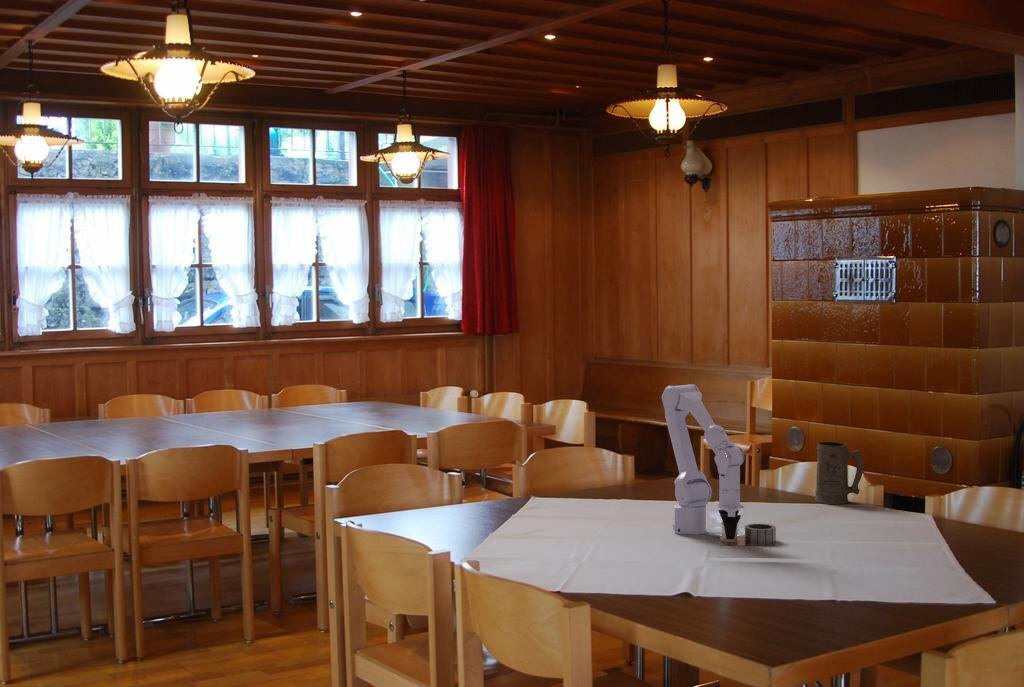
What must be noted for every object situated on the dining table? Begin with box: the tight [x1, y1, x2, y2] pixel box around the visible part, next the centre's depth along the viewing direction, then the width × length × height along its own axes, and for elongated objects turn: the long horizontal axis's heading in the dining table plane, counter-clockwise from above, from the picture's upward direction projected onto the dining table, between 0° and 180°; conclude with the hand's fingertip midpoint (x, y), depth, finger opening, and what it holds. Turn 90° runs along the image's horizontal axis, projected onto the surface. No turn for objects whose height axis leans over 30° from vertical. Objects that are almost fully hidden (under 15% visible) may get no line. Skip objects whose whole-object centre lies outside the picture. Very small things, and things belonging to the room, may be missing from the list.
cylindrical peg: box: [721, 521, 738, 542], centre depth 328 cm, size 4×4×5 cm
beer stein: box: [814, 441, 864, 505], centre depth 388 cm, size 15×11×20 cm
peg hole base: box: [718, 523, 778, 547], centre depth 327 cm, size 15×13×5 cm
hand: (729, 537), depth 328 cm, fingers closed on cylindrical peg, 4 cm apart
